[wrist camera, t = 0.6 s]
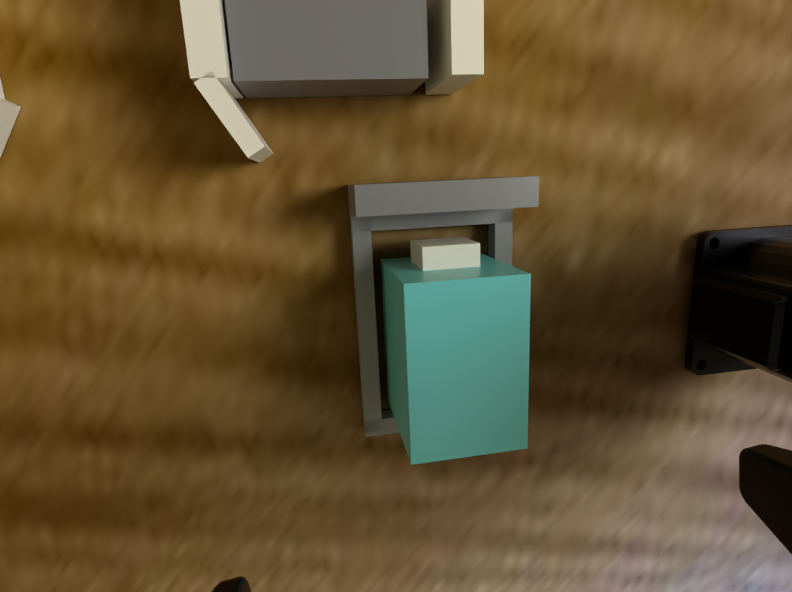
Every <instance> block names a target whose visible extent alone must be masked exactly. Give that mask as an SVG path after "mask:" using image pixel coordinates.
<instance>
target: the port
mask: <svg viewBox="0 0 792 592" xmlns="http://www.w3.org/2000/svg"><path fill="white" fill-rule="evenodd" d="M180 6H181V14H182V21H183V29H184V37H185V44H186V52H187V59H188V67H189V74H190V79H192V80H193V81H194V84H195V86H196V87H197V89H198V90H199V91H200V93H201V94H202V95H203V97H204V98H205V100H206V101H207V102H208V104H209V105H210V106H211V108H212V109H213V111H214V112H215V113H216V115H217V116H218V117H219V119H220V120H221V122H222V123H223V124H224V126H225V127H226V128H227V130H228V131H229V133H230V134H231V135H232V137H233V138H234V140H235V141H236V142H237V144H238V145H239V146H240V148H241V149H242V151H243V152H244V153H245V155H246V156H247V157H248V158H249V159H252V160H254V161H257V162H259V163H260V162H262V161H263V160H265V159H266V158H267V157H269V156H270V155H272V154H273V152H272V150H271V149H270V148H269V146H268V145H267V143H266V142H265V140H264V139H263V138H262V136H261V135H260V133H259V132H258V131H257V129H256V128H255V126H254V125H253V123H252V122H251V121H250V119H249V118H248V116H247V115H246V114H245V112H244V111H243V109H242V108H241V106H240V105H239V104H238V102H237V101H236V99H235V98H244V96H243V94H244V95H245V97H246V98H284V97H334V96H384V95H410V94H411V93H412V92H414V91H415V90H416V89H417V88H418V87H419V86H420V85H422V84H423V83H424V82H425V90H426V95H434V94H453V93H454V92H456V91H458V90H459V89H461V88H462V87H464V86H466V85H467V84H469V83H470V82H472V81H474V80H475V79H477V78H478V77H480V76H482V75H483V74H484V0H180ZM20 108H21V107H20V106H18V105H16V104H14V103H12V102H10V101H8V100H6V99H5V97H4V93H3V88H2V83H1V79H0V157H1V155H2V152H3V150H4V147H5V145H6V143H7V140H8V138H9V135H10V133H11V130H12V128H13V125H14V123H15V121H16V118H17V116H18V113H19V111H20Z"/></svg>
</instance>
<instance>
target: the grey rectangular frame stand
mask: <svg viewBox="0 0 792 592" xmlns="http://www.w3.org/2000/svg"><path fill="white" fill-rule="evenodd" d="M347 187H348V202H349V217H350V232H351V247H352V262H353V277H354V292H355V307H356V322H357V337H358V352H359V367H360V382H361V397H362V412H363V427H364V432H365V437H371V436H379V435H387V434H394V433H400V432H399V429H398V427H397V424H396V421H395V418H394V416H393V413H392V410H391V409H388V410H381V397H380V379H379V362H378V344H377V327H376V309H375V292H374V274H373V256H372V239H371V231H381V230H397V229H413V228H429V227H445V226H461V225H477V224H488V256H489V257H491V258H494V259H496V260H499V261H501V262H504V263H506V264H509V265H511V266H512V228H513V208H522V207H538V205H539V176H530V177H499V178H478V179H457V180H436V181H415V182H394V183H373V184H352V185H347Z"/></svg>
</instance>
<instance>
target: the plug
mask: <svg viewBox="0 0 792 592" xmlns="http://www.w3.org/2000/svg"><path fill="white" fill-rule="evenodd" d="M410 248H411V257H403V258H389V259H380V262H381V281H382V299H383V318H384V337H385V356H386V375H387V393H388V402H389V405H390V407H391V410H392V413H393V416H394V418H395V421H396V424H397V427H398V429H399V432H400V435H401V438H402V440H403V443H404V446H405V449H406V451H407V454H408V457H409V460H410V462H411V465H413V464H420V463H428V462H435V461H442V460H449V459H456V458H463V457H471V456H478V455H485V454H492V453H499V452H506V451H514V450H521V449H528V401H529V348H530V295H531V273H528V272H526V271H523V270H521V269H518V268H516V267H513V266H511V265H509V264H506V263H504V262H501V261H499V260H496V259H494V258H491V257H489V256H486V255H484V254H482V253H480V243H479V242H476V241H473V240H470V239H467V238H464V237H452V238H437V239H422V240H410Z"/></svg>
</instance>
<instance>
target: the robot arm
mask: <svg viewBox="0 0 792 592" xmlns="http://www.w3.org/2000/svg"><path fill="white" fill-rule="evenodd" d="M711 239H712V245H711V246H710V247H709V242H710V240H711ZM699 360H700V362H699V364H698V365H697V363H698V361H699ZM696 365H697V366H696ZM685 367H686V369H687V370H688V371H690V372H692V373H694V374H696V375H706V374H715V373H723V372H731V371H740V370H748V369H756V368H758V369H761V370H763V371H765V372H768V373H770V374H773V375H775V376H777V377H780V378H782V379H785V380H787V381H789V382H792V225H784V226H769V227H755V228H741V229H726V230H712V231H706V232H704V233H702V234H701V235H700V236H699V238H698V241H697V246H696V257H695V267H694V277H693V287H692V297H691V308H690V318H689V328H688V338H687V348H686V359H685ZM739 488H740V492H741V495H742V497H743V498H744V500H745V502H746V503H747V504H748V505H749V506H750V508H751V509H752V510H753V511H754V512H755V513H756V514H757V516H758V517H759V518H760V519H761V520H762V521H763V522H764V523H765V525H766V526H767V527H768V528H769V529H770V530H771V531H772V533H773V534H774V535H775V536H776V537H777V538H778V539H779V541H780V542H781V543H782V544H783V545H784V546H785V547H786V549H787V550H788V551H789V552H790V553H791V554H792V451H790V450H786V449H783V448H779V447H775V446H771V445H766V444H762V445H757V446H753V447H749V448H745V449H743V450H742V451H741V453H740V455H739ZM212 592H251V590H250V587H249V583H248V581H247V580H246V578H245V577H242V576H241V577H237V578H233V579H229V580H225V581H222V582H220V583H219V584H218V585H217V586H216V587H215V588H214V590H213V591H212Z"/></svg>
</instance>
